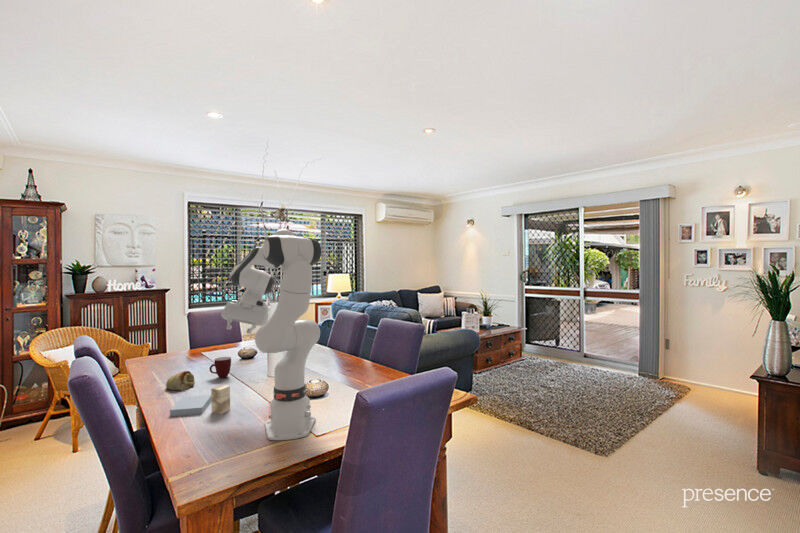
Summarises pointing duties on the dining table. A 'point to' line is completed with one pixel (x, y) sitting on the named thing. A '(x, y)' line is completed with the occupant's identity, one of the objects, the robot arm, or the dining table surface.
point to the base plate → (191, 405)
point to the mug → (222, 366)
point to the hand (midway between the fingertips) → (238, 331)
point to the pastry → (181, 381)
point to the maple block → (220, 399)
